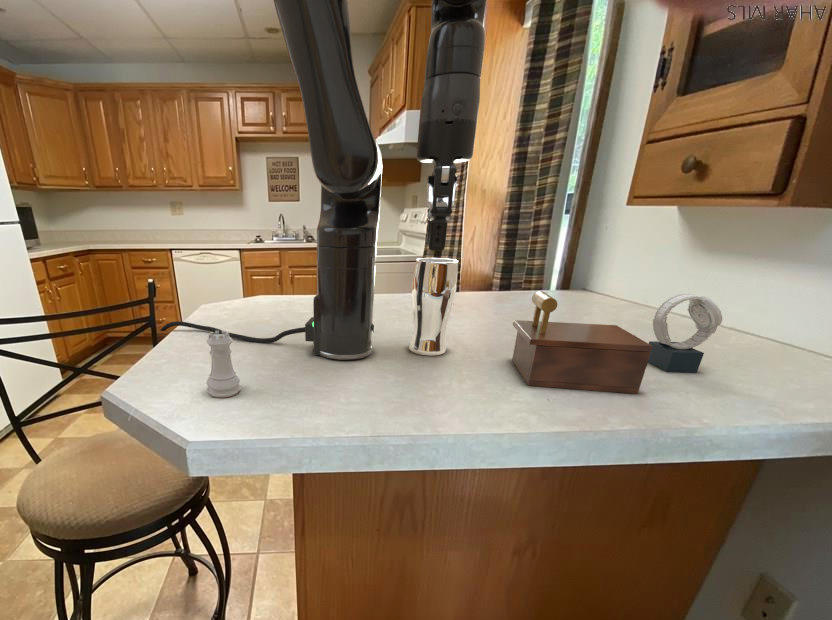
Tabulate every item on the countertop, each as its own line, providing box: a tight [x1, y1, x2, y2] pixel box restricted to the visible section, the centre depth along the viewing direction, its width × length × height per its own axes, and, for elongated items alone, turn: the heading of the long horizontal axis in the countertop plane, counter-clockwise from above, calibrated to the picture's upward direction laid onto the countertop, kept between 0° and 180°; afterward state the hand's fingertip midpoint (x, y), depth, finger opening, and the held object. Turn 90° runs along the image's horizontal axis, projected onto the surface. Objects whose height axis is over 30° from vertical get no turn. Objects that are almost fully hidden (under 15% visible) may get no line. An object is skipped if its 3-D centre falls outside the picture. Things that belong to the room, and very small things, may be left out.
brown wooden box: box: [511, 330, 651, 395], centre depth 61 cm, size 14×11×6 cm
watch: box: [648, 293, 723, 374], centre depth 64 cm, size 6×8×11 cm
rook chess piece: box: [206, 330, 242, 399], centre depth 54 cm, size 4×4×8 cm
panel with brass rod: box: [512, 291, 653, 352], centre depth 59 cm, size 14×11×6 cm
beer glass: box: [408, 257, 459, 357], centre depth 70 cm, size 7×7×15 cm
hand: (434, 247), depth 63 cm, fingers open, 8 cm apart
